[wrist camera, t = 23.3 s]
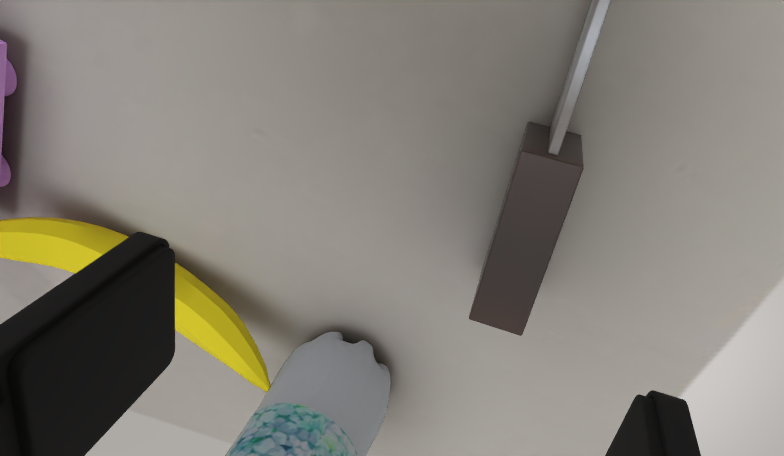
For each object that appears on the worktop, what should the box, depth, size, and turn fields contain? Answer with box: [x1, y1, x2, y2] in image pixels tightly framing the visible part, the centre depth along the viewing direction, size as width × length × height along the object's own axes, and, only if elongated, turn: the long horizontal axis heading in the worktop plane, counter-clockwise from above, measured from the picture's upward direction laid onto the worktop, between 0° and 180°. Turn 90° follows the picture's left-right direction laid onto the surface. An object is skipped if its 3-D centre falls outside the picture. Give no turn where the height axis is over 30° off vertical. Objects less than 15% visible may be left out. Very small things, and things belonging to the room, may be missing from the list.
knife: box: [469, 0, 611, 336], centre depth 23 cm, size 22×2×4 cm, turn 169°
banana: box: [0, 217, 271, 392], centre depth 32 cm, size 3×19×6 cm, turn 67°
